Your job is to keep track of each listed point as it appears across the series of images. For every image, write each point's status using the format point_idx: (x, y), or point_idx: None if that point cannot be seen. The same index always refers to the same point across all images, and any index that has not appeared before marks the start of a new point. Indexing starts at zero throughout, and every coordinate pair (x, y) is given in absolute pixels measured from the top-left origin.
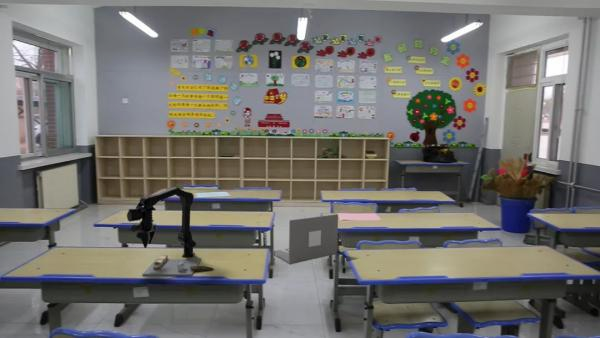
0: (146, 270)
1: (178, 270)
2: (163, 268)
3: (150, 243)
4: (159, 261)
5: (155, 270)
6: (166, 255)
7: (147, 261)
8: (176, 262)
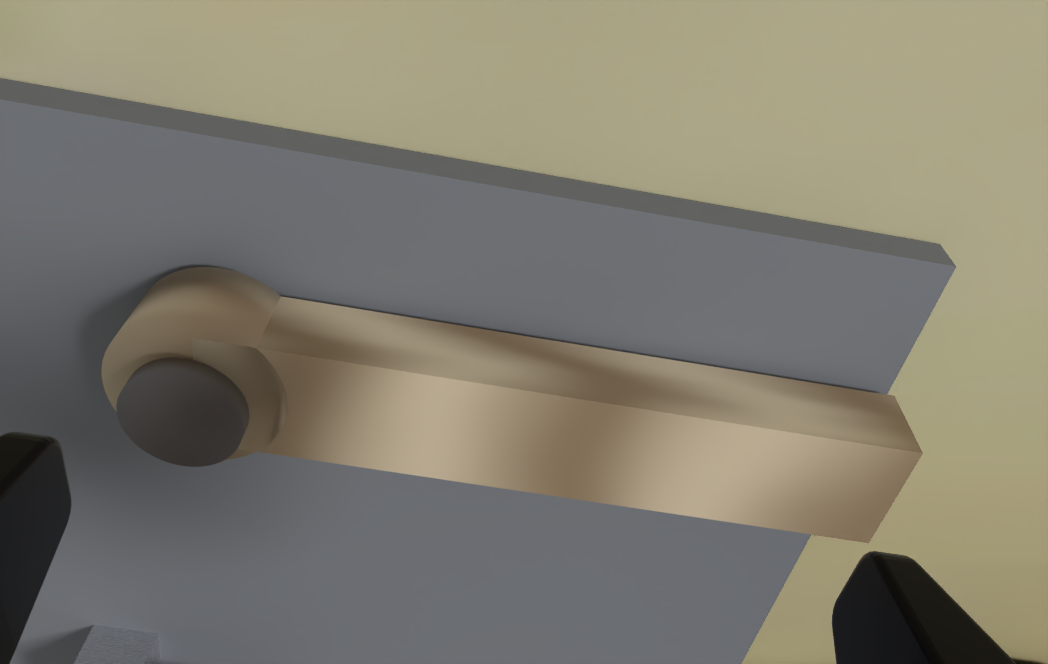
0: (48, 124)
1: (89, 644)
2: None
3: (838, 623)
4: (407, 427)
5: (80, 315)
6: (851, 526)
7: (963, 19)
8: (560, 603)
